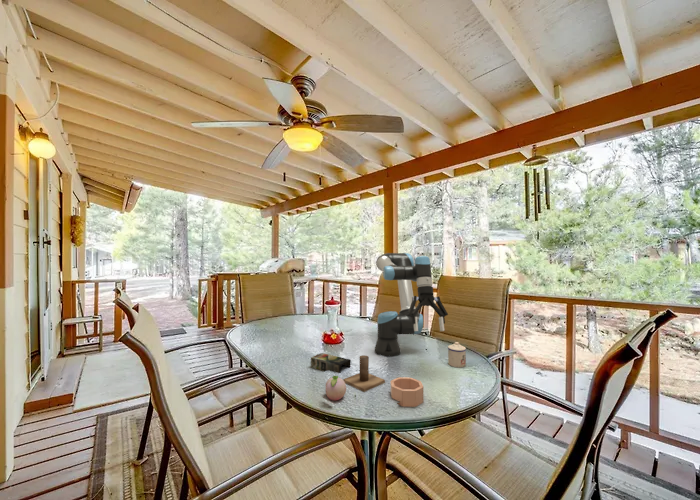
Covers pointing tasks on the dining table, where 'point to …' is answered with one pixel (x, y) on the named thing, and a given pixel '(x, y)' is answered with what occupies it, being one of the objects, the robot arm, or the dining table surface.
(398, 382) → the bowl
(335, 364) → the juice carton
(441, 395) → the dining table surface
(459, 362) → the teacup with lid
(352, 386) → the mat
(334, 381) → the decorative fruit
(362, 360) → the lid
